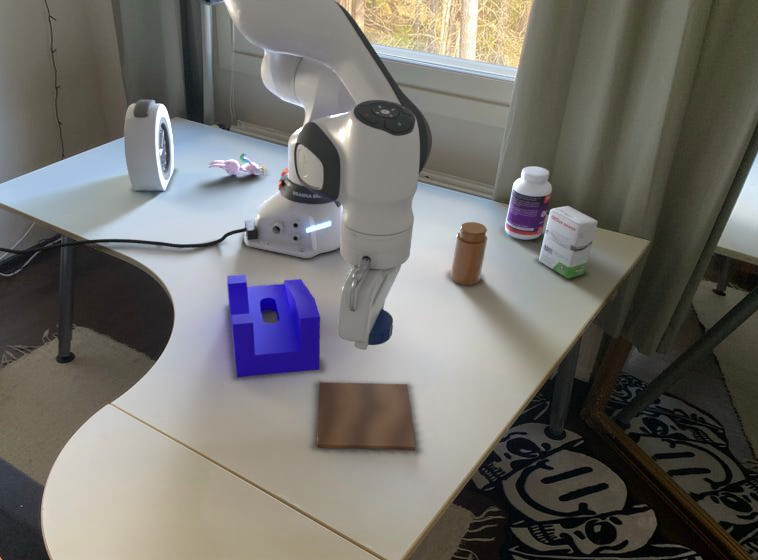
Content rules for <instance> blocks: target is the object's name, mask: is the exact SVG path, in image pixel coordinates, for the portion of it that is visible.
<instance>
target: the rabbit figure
mask: <svg viewBox="0 0 758 560" xmlns="http://www.w3.org/2000/svg"><path fill="white" fill-rule="evenodd" d="M245 156H247V154H246V153H241V154H240V155H239V158H240V161H241V162H243V164H242V166H241V164H240V163H239V161H238V160H236V159H228V160H227V159H226V160H221V159H217V160H216V159H215V160H213V161H211V162H210V163H208V165H207V166H208V168H209V169H210V168H220V169H222V170H225V172H226V173H227V174H230V175H232V176H237V175H239V174H240V171H242V172H243V173H245V174H252V175H254V176H258V175H260V174H261V171H263V173H264V175H266V174H267V168H266V164H264V165H263V164H262V163H259V164H257V163H256V162H252V161H251V160H250V159H249V158H248V157H245Z"/></svg>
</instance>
